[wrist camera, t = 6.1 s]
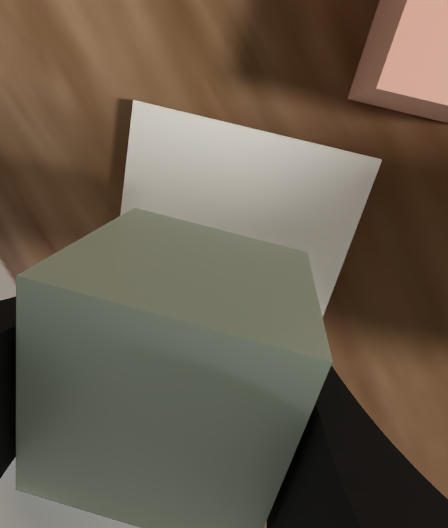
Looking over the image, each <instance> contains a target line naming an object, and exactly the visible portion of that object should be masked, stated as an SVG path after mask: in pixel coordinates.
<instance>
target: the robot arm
mask: <svg viewBox="0 0 448 528" xmlns="http://www.w3.org/2000/svg"><path fill="white" fill-rule="evenodd" d="M15 457H16V297H13V298H9V299H5V300H1V301H0V478H1V477H2V475H3V473H4V472H5V471H6V469H7V468H8V466H9V465H10V464H11V462H12V461H13V460H14V458H15ZM267 528H448V499H447V498H446V497H444V496H443V495H442V494H441V493H440V492H439V491H438V490H437V489H436V488H435V487H434V486H433V485H432V484H431V483H430V482H429V481H428V480H427V479H426V478H425V477H424V476H423V475H422V474H421V473H420V472H419V471H418V470H417V469H416V468H415V467H414V466H413V465H412V464H411V463H410V462H409V461H408V460H407V459H406V458H405V456H404V455H403V454H402V453H401V452H400V451H399V450H398V449H397V448H396V447H395V446H394V445H393V444H392V443H391V441H390V440H389V439H388V438H387V437H386V436H385V435H384V433H383V432H382V431H381V430H380V429H379V428H378V426H377V425H376V424H375V423H374V421H373V420H372V419H371V418H370V417H369V415H368V414H367V413H366V412H365V410H364V409H363V408H362V407H361V405H360V404H359V403H358V402H357V400H356V399H355V398H354V396H353V395H352V394H351V392H350V391H349V390H348V388H347V387H346V385H345V384H344V383H343V381H342V380H341V379H340V377H339V376H338V374H337V373H336V371H335V370H334V368H333V367H332V366H331V367H330V369H329V372H328V374H327V377H326V379H325V381H324V384H323V386H322V389H321V391H320V393H319V396H318V398H317V401H316V403H315V405H314V408H313V410H312V413H311V415H310V417H309V420H308V422H307V425H306V427H305V429H304V432H303V434H302V437H301V439H300V441H299V444H298V446H297V449H296V451H295V453H294V456H293V458H292V461H291V463H290V465H289V468H288V470H287V473H286V475H285V477H284V480H283V482H282V485H281V487H280V489H279V492H278V494H277V497H276V499H275V501H274V504H273V506H272V509H271V511H270V513H269V516H268V518H267Z"/></svg>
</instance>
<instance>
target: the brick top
mask: <svg viewBox="0 0 448 528" xmlns="http://www.w3.org/2000/svg"><path fill="white" fill-rule="evenodd" d="M348 99H349V100H353V101H357V102H362V103H366V104H370V105H374V106H378V107H383V108H387V109H391V110H395V111H399V112H403V113H408V114H412V115H416V116H420V117H424V118H429V119H433V120H437V121H441V122H445V123H448V0H379V4H378V7H377V10H376V13H375V16H374V19H373V22H372V25H371V28H370V31H369V34H368V37H367V40H366V43H365V46H364V50H363V53H362V56H361V59H360V62H359V65H358V68H357V71H356V74H355V77H354V80H353V83H352V86H351V89H350V93H349V96H348Z"/></svg>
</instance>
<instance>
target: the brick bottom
mask: <svg viewBox="0 0 448 528" xmlns="http://www.w3.org/2000/svg"><path fill="white" fill-rule="evenodd" d="M332 362H333V361H332V357H331V352H330V348H329V344H328V339H327V335H326V331H325V326H324V322H323V318H322V313H321V309H320V305H319V300H318V296H317V291H316V287H315V283H314V278H313V274H312V270H311V265H310V261H309V257H308V252H304V251H300V250H297V249H293V248H289V247H285V246H281V245H277V244H273V243H270V242H266V241H262V240H258V239H254V238H250V237H246V236H243V235H239V234H235V233H231V232H227V231H223V230H219V229H216V228H212V227H208V226H204V225H200V224H196V223H192V222H189V221H185V220H181V219H177V218H173V217H169V216H165V215H162V214H158V213H154V212H150V211H146V210H142V209H138V208H133V209H131V210H130V211H128V212H126V213H124V214H123V215H121V216H119V217H117V218H116V219H114V220H112V221H110V222H109V223H107V224H105V225H103V226H102V227H100V228H98V229H96V230H95V231H93V232H91V233H89V234H88V235H86V236H84V237H82V238H81V239H79V240H77V241H75V242H74V243H72V244H70V245H68V246H67V247H65V248H63V249H61V250H60V251H58V252H56V253H54V254H53V255H51V256H49V257H47V258H46V259H44V260H42V261H40V262H39V263H37V264H35V265H34V266H32V267H30V268H28V269H27V270H25V271H23V272H21V273H20V274H18V275H16V490H18V491H21V492H25V493H28V494H31V495H35V496H38V497H41V498H45V499H48V500H51V501H55V502H58V503H61V504H64V505H68V506H71V507H74V508H78V509H81V510H84V511H87V512H91V513H94V514H97V515H101V516H104V517H107V518H111V519H114V520H117V521H121V522H124V523H127V524H130V525H134V526H137V527H140V528H264V525H265V523H266V521H267V518H268V516H269V513H270V511H271V509H272V506H273V504H274V501H275V499H276V497H277V494H278V492H279V489H280V487H281V485H282V482H283V480H284V477H285V475H286V473H287V470H288V468H289V465H290V463H291V461H292V458H293V456H294V453H295V451H296V449H297V446H298V444H299V441H300V439H301V437H302V434H303V432H304V429H305V427H306V425H307V422H308V420H309V417H310V415H311V413H312V410H313V408H314V405H315V403H316V401H317V398H318V396H319V393H320V391H321V389H322V386H323V384H324V381H325V379H326V377H327V374H328V372H329V369H330V367H331V365H332Z"/></svg>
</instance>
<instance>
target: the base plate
mask: <svg viewBox="0 0 448 528" xmlns="http://www.w3.org/2000/svg"><path fill="white" fill-rule="evenodd" d="M381 162H382V159H379V158H376V157H371V156H367V155H363V154H359V153H355V152H351V151H346V150H342V149H338V148H334V147H330V146H326V145H321V144H317V143H313V142H309V141H305V140H301V139H296V138H292V137H288V136H284V135H280V134H276V133H271V132H267V131H263V130H259V129H255V128H251V127H246V126H242V125H238V124H234V123H230V122H226V121H221V120H217V119H213V118H209V117H205V116H201V115H196V114H192V113H188V112H184V111H180V110H176V109H171V108H167V107H163V106H159V105H155V104H151V103H146V102H142V101H137V100H133V105H132V114H131V123H130V132H129V141H128V150H127V159H126V168H125V177H124V186H123V195H122V204H121V213H120V216H121V215H123V214H124V213H126V212H128V211H130V210H131V209H133V208H138V209H142V210H146V211H150V212H154V213H158V214H162V215H165V216H169V217H173V218H177V219H181V220H185V221H189V222H192V223H196V224H200V225H204V226H208V227H212V228H216V229H219V230H223V231H227V232H231V233H235V234H239V235H243V236H246V237H250V238H254V239H258V240H262V241H266V242H270V243H273V244H277V245H281V246H285V247H289V248H293V249H297V250H300V251H304V252H308V257H309V261H310V265H311V270H312V274H313V278H314V283H315V287H316V291H317V296H318V300H319V305H320V309H321V313H322V318H323V315H324V313H325V310H326V307H327V305H328V302H329V300H330V297H331V294H332V292H333V289H334V286H335V284H336V281H337V278H338V276H339V273H340V270H341V268H342V265H343V262H344V260H345V257H346V254H347V252H348V249H349V247H350V244H351V241H352V239H353V236H354V233H355V231H356V228H357V225H358V223H359V220H360V217H361V215H362V212H363V209H364V207H365V204H366V201H367V199H368V196H369V194H370V191H371V188H372V186H373V183H374V180H375V178H376V175H377V172H378V170H379V167H380V164H381Z"/></svg>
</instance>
